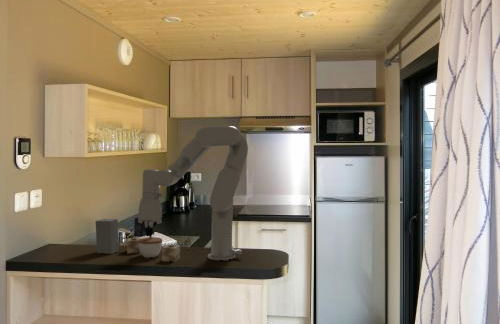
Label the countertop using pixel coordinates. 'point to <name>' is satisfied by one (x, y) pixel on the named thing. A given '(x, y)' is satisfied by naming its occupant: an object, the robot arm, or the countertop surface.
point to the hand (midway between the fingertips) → (149, 235)
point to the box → (140, 228)
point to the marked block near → (170, 253)
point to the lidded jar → (150, 246)
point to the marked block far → (133, 245)
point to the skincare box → (107, 236)
